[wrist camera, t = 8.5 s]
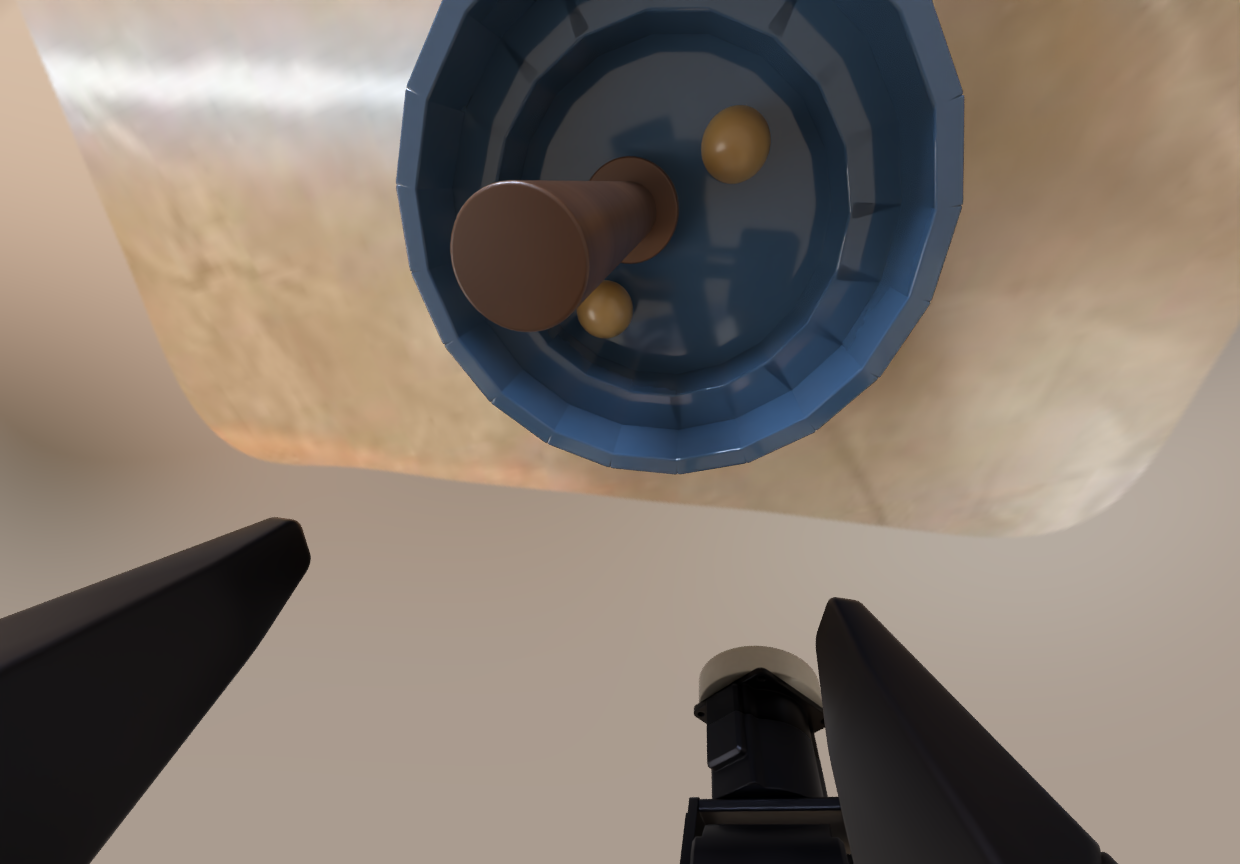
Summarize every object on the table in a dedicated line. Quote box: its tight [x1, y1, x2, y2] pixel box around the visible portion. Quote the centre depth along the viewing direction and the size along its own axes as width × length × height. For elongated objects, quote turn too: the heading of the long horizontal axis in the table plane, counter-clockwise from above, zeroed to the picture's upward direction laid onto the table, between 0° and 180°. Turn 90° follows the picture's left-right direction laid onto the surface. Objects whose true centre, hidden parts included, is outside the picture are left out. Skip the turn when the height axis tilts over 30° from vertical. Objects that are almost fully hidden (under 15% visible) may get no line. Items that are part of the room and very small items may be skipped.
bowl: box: [396, 0, 964, 474], centre depth 15 cm, size 14×14×5 cm
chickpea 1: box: [577, 280, 633, 338], centre depth 17 cm, size 2×2×2 cm
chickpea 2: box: [701, 105, 771, 184], centre depth 14 cm, size 2×2×2 cm
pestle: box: [450, 156, 679, 332], centre depth 11 cm, size 3×3×12 cm
